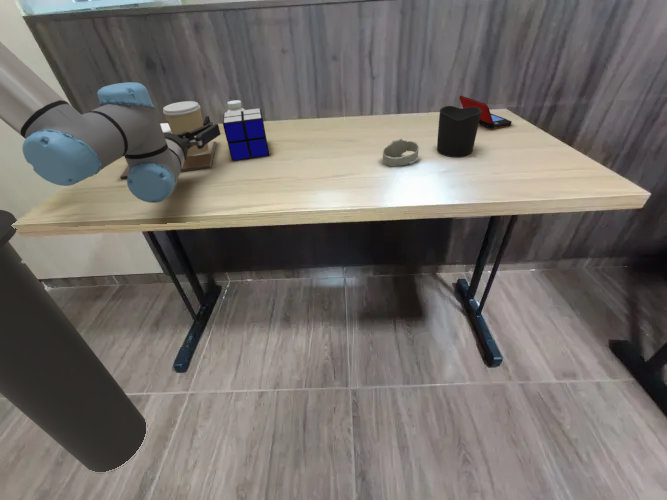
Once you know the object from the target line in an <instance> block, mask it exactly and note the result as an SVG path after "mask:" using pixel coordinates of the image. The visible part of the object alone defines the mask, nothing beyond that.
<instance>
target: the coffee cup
mask: <svg viewBox="0 0 667 500" xmlns="http://www.w3.org/2000/svg"><path fill="white" fill-rule="evenodd" d="M162 109H163V110H162V114H163V115H164V117H165V120H166V123H168V124H169V127H170V129H171V132H172V134H179V133H182V132H184V131H186V132H190V131H193V130H195V129H197V128H200V127H202V126H203V123H204V119H203V115H202V111H201V105H200V104H199V103H198V102H197V101H194V100H193V101H192V100H185V101H179V102H173V103H169V104H168V105H165V106H164V107H163V108H162ZM183 137H185V136H183ZM207 149H208V143H207V144H206V145H205V146H204V147H203V148H202V149H198V147H197V146H193V147H191V148H190V149H188V152H187V155H196V154H200V153H203V152H205V151H206V150H207Z"/></svg>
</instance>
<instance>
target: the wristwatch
mask: <svg viewBox="0 0 667 500" xmlns="http://www.w3.org/2000/svg"><path fill="white" fill-rule="evenodd" d="M419 146H420V145H419V144H418V143H416V142H415V141H411V140H404V139H403V138H399V139H396V140H392V141H391V142H390V143H389V144H388V145H387V146H385V147H384V148H383V150H382V163H383V164H384V165H385V166H389V167H400V166H407V165H410V163H412V162H414V161H416V160H417V158H418V157H419V149H420V147H419ZM407 152H413V153H409V154H405V155H403V154H404V153H407Z"/></svg>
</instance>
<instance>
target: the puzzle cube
mask: <svg viewBox="0 0 667 500" xmlns="http://www.w3.org/2000/svg"><path fill="white" fill-rule="evenodd" d="M222 117H223V119H222V126H223V130H224V134H225V135H224V136H225V139H226V142H227V146H228V147H227V148H228V151H229V154H230V158H231V161H233V162H235V161H241V160H248V159H255V158H262V157H269V155H270V150H269V145H268V140H267V139H268V138H267V134H266V129H265V123H264V117H263V113H262V109H261V108H260V107H258V108H252V109H251V108H250V109H244V110H243V111H233V112H227V111H225V112H224V113H223V116H222Z"/></svg>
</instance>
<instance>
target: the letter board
mask: <svg viewBox="0 0 667 500" xmlns="http://www.w3.org/2000/svg"><path fill="white" fill-rule="evenodd" d="M216 148H217V141H213V140H212V141H210V142H209V143H208V149H207V150H206V151H205V152H203V153H200V154H196V155H187V157H186V160H185V162H184V164H183V167H182V169H181V172H180V173H184V172H192V171H199V170H207V169H211V167H212V164H213V162H214V161H213V160H214V156H215V151H216ZM129 170H130V168H129V166H128V165H127V167H126V168H125V169H124V171H123V172H122V174H121V175H120V179H121V180H127V177H128V173H129Z"/></svg>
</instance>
